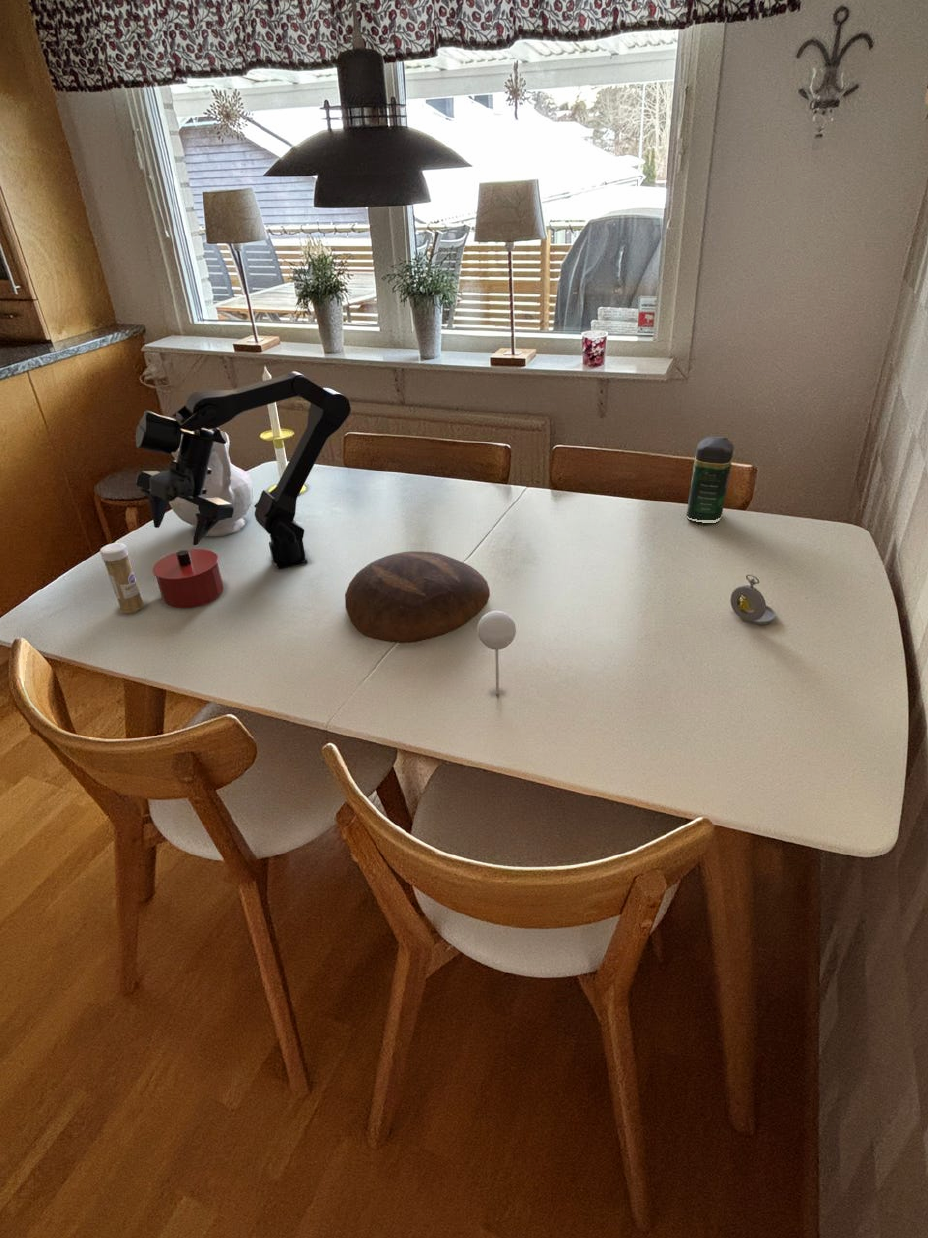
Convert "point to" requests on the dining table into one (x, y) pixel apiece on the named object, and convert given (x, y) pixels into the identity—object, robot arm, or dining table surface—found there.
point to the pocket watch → (751, 604)
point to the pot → (192, 590)
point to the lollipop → (496, 634)
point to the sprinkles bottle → (122, 577)
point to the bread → (414, 597)
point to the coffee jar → (710, 479)
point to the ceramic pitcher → (220, 491)
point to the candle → (277, 436)
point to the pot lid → (185, 564)
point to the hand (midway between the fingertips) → (175, 536)
